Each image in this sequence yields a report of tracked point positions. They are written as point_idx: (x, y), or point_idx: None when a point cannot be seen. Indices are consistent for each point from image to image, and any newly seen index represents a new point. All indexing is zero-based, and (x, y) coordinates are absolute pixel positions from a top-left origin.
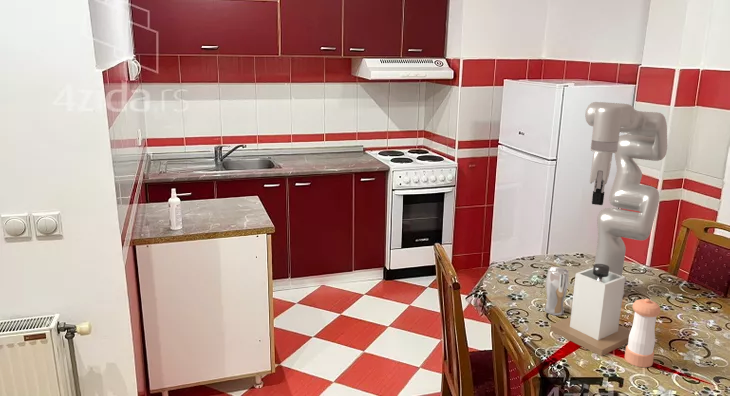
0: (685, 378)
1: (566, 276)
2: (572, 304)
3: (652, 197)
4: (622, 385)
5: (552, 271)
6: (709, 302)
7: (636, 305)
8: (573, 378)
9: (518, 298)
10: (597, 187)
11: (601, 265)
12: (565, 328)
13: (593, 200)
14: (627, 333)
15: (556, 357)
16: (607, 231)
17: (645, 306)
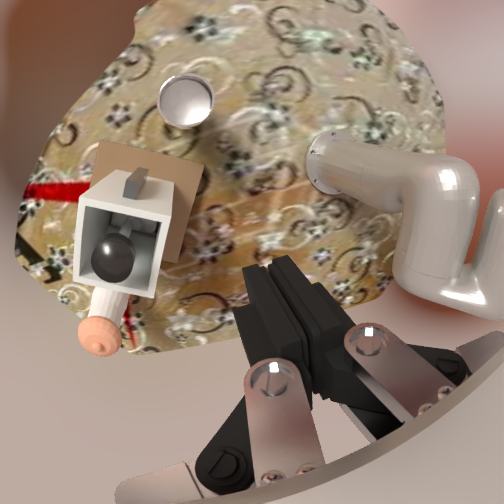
0: (122, 328)
1: (177, 127)
2: (103, 178)
3: (486, 316)
4: (48, 283)
5: (202, 80)
6: (363, 290)
7: (80, 330)
8: (16, 235)
9: (198, 35)
10: (122, 501)
11: (118, 260)
12: (103, 167)
13: (250, 294)
14: (164, 252)
15: (37, 193)
16: (404, 187)
17: (83, 344)
